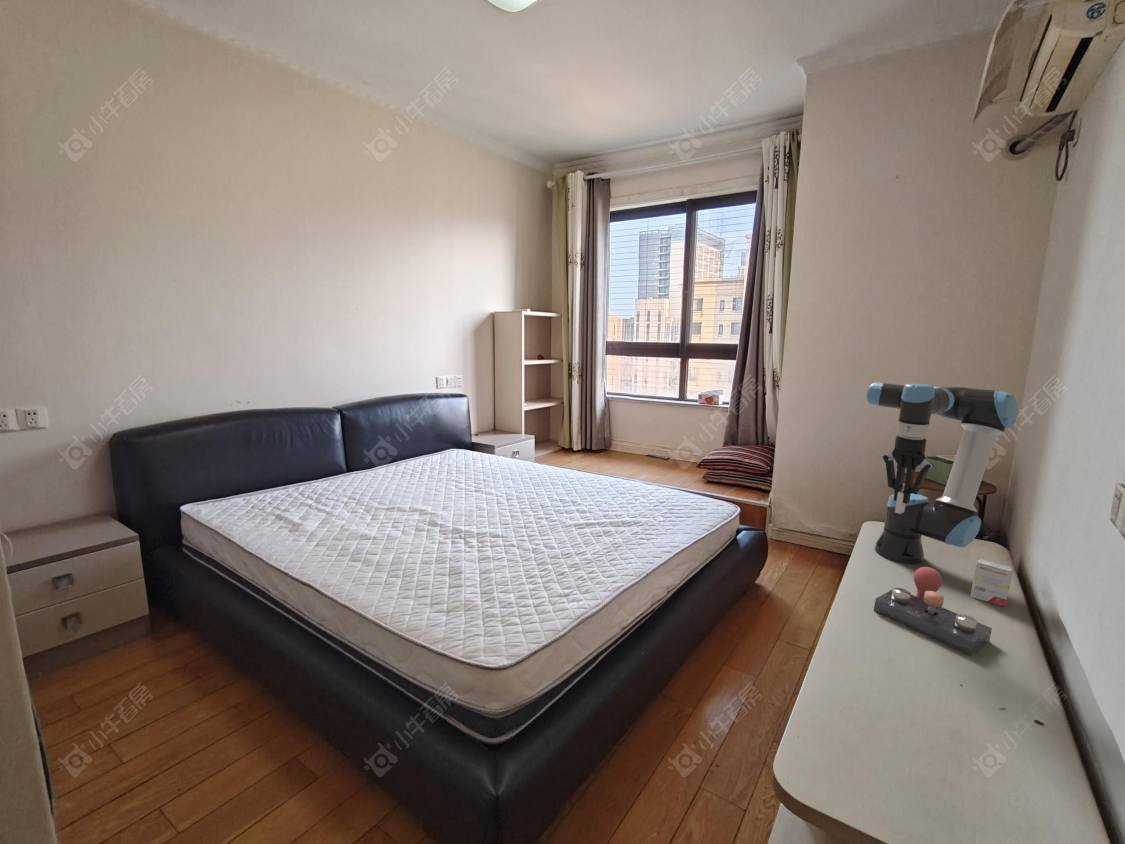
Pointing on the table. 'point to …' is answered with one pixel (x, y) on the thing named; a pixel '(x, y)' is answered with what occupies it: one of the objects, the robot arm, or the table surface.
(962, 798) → the table surface
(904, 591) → the knob
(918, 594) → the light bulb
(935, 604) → the knob
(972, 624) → the knob
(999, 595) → the ink box
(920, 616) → the mount plate
